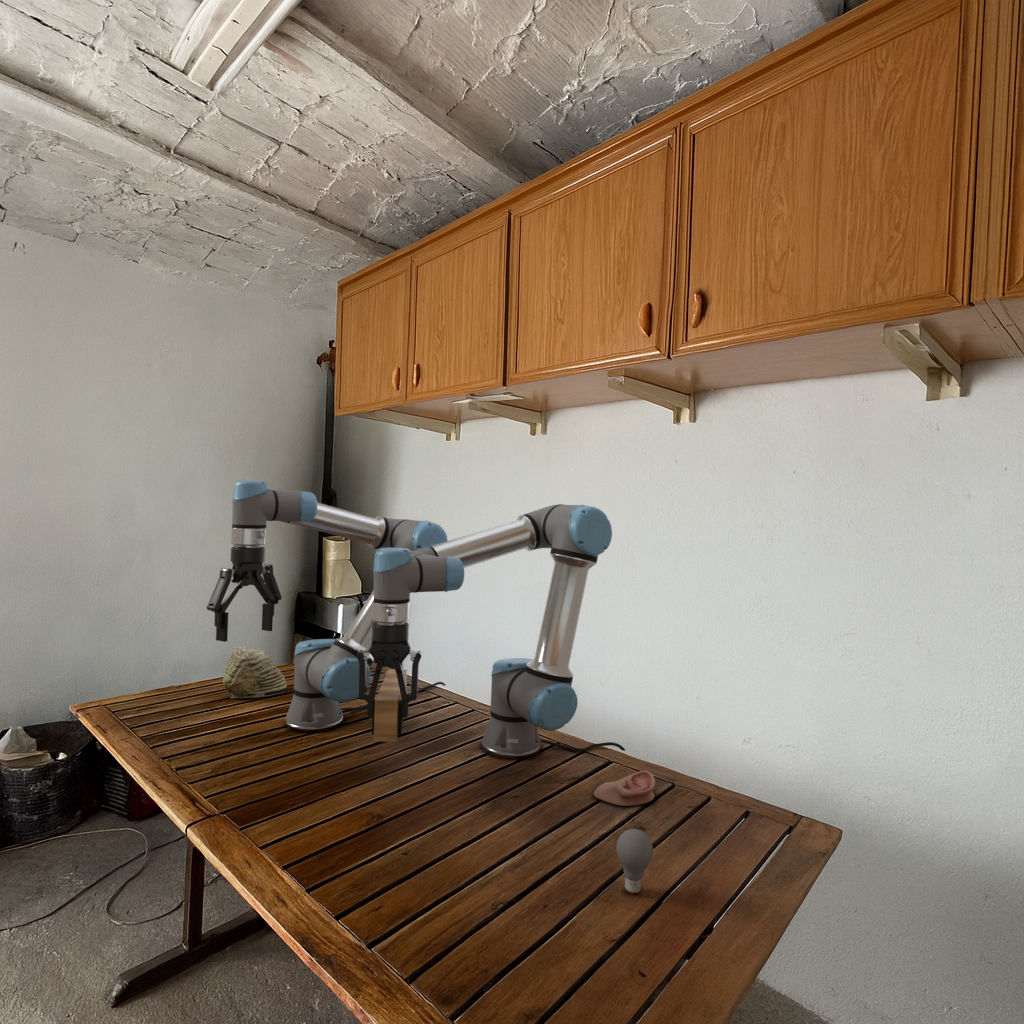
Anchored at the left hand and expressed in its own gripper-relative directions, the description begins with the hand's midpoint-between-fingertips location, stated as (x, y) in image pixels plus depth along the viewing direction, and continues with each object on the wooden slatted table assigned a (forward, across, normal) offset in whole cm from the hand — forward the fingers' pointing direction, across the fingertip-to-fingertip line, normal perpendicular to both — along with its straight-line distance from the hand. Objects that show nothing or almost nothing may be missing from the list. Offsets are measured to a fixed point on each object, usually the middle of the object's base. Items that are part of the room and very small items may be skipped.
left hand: (245, 635), depth 150 cm
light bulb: (+30, -7, -96) cm, 100 cm away
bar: (+16, +6, -38) cm, 41 cm away
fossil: (+30, +37, +34) cm, 58 cm away
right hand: (+15, -1, -42) cm, 44 cm away
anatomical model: (+30, +27, -86) cm, 95 cm away
